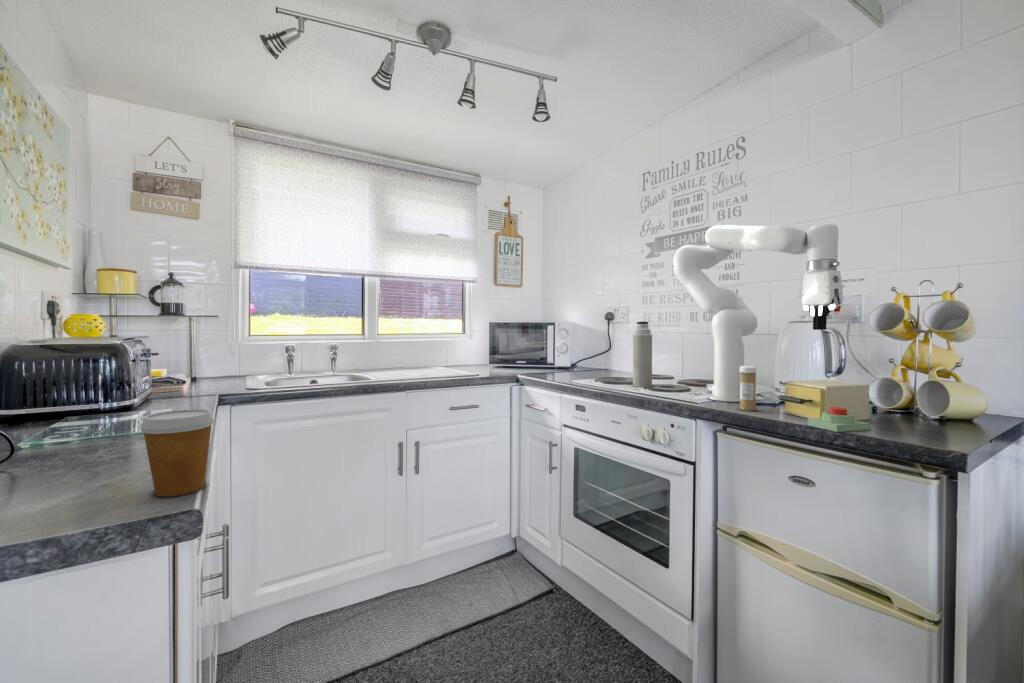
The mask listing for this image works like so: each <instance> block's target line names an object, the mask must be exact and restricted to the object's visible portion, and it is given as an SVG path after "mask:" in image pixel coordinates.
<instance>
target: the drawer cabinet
mask: <svg viewBox="0 0 1024 683" xmlns="http://www.w3.org/2000/svg"><path fill="white" fill-rule="evenodd" d="M786 384H789V385H799V386H806V387H813V388H820V389H824V412H826V411H829V408H830V407H839V408H845V409H847V413H850V414H853V415H855V420H857V421H864V420H869V414H870V384H867V383H859V382H858V383H857V382H850V381H843V380H833V379H808V380H807V379H806V380H803V379H802V380H787V381H786ZM786 414H787V415H792V416H797V417H801V418H806V419H812V418H815V417H810V416H806V415H801V414H796V413H792V412H787V411H786Z"/></svg>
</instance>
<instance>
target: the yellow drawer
mask: <svg viewBox="0 0 1024 683" xmlns="http://www.w3.org/2000/svg"><path fill="white" fill-rule="evenodd" d="M784 388H785V389H784V395H783V394H780V395H779V396H778V399H779V401H782V402H784V412H786V413H787V412H792V413H796V414H801V415H806V416H810V417H815V418H822V412H824V389H820V388H813V387H806V386H799V385H789V384H787V383H786V384H784Z"/></svg>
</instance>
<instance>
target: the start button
mask: <svg viewBox="0 0 1024 683" xmlns="http://www.w3.org/2000/svg"><path fill="white" fill-rule="evenodd" d="M829 414H833V415H847V409H845V408H839V407H830V408H829Z"/></svg>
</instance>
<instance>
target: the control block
mask: <svg viewBox="0 0 1024 683" xmlns="http://www.w3.org/2000/svg"><path fill="white" fill-rule="evenodd" d="M807 426H809V427H810V426H811V427H814V428H817V429H818V428H819V429H823V430H827V431H832V432H834V433H842V432H856V431H869V430H870V422H866V421H863V420H855V415H853V414H850V413H847V415H833V414H829V411H826V412H822V418H812V419H810V418H807Z"/></svg>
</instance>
